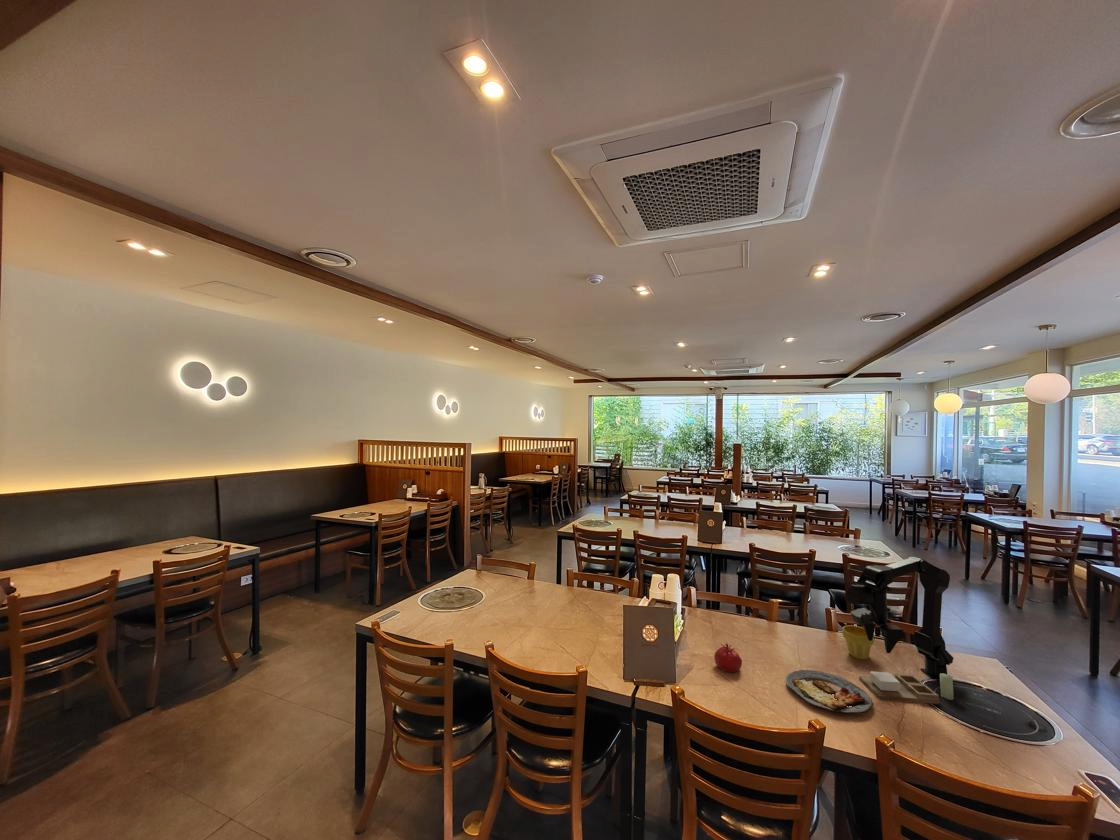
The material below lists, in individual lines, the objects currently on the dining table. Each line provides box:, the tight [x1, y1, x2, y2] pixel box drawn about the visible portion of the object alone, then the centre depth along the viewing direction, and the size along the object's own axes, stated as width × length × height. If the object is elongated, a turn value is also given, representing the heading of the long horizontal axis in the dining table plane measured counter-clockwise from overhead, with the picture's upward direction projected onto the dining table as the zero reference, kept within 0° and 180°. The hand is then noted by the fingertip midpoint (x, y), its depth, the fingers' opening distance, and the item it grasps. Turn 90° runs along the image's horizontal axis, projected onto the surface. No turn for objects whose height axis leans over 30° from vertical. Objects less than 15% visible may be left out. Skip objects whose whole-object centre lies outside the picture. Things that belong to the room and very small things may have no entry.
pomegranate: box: [713, 642, 743, 673], centre depth 160 cm, size 10×10×9 cm
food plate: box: [785, 669, 874, 714], centre depth 143 cm, size 25×23×4 cm
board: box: [858, 673, 940, 705], centre depth 144 cm, size 12×18×3 cm, turn 81°
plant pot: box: [842, 624, 875, 660], centre depth 169 cm, size 10×10×10 cm
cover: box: [869, 671, 900, 691], centre depth 145 cm, size 6×6×3 cm
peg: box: [939, 673, 955, 701], centre depth 141 cm, size 3×3×7 cm
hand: (878, 646), depth 151 cm, fingers open, 9 cm apart
